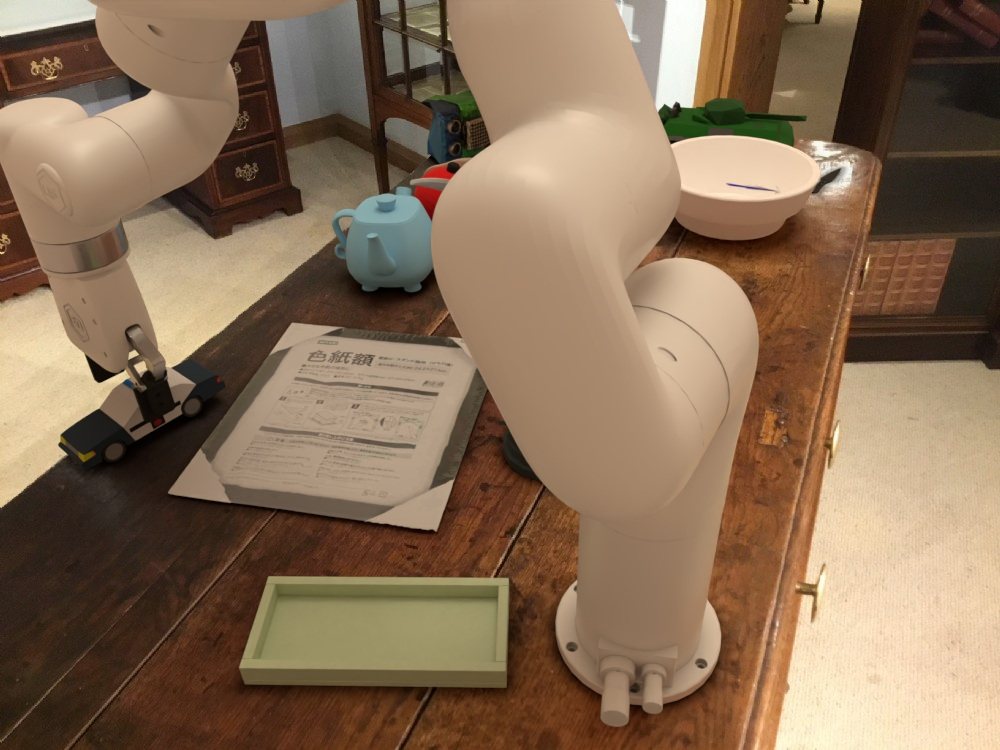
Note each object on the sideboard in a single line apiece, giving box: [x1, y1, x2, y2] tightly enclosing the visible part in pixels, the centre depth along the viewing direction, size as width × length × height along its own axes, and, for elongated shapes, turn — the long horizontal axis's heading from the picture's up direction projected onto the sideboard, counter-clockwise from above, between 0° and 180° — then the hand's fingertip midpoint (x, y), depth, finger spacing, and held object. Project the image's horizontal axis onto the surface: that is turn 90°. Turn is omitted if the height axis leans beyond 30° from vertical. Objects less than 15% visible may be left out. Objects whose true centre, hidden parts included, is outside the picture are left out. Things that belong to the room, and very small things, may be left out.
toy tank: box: [657, 97, 808, 148], centre depth 136 cm, size 16×23×10 cm
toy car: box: [57, 358, 226, 471], centre depth 87 cm, size 5×16×5 cm, turn 138°
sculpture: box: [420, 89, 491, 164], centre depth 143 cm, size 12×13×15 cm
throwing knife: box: [811, 167, 843, 194], centre depth 132 cm, size 12×1×2 cm
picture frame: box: [167, 322, 489, 532], centre depth 89 cm, size 26×1×30 cm
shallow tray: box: [238, 575, 510, 689], centre depth 66 cm, size 9×20×2 cm, turn 88°
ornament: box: [413, 162, 460, 221], centre depth 120 cm, size 9×9×10 cm
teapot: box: [331, 186, 434, 293], centre depth 109 cm, size 15×14×11 cm
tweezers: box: [726, 183, 817, 199], centre depth 110 cm, size 2×12×1 cm, turn 65°
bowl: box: [671, 135, 822, 241], centre depth 120 cm, size 22×22×8 cm
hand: (134, 395), depth 86 cm, fingers open, 9 cm apart
